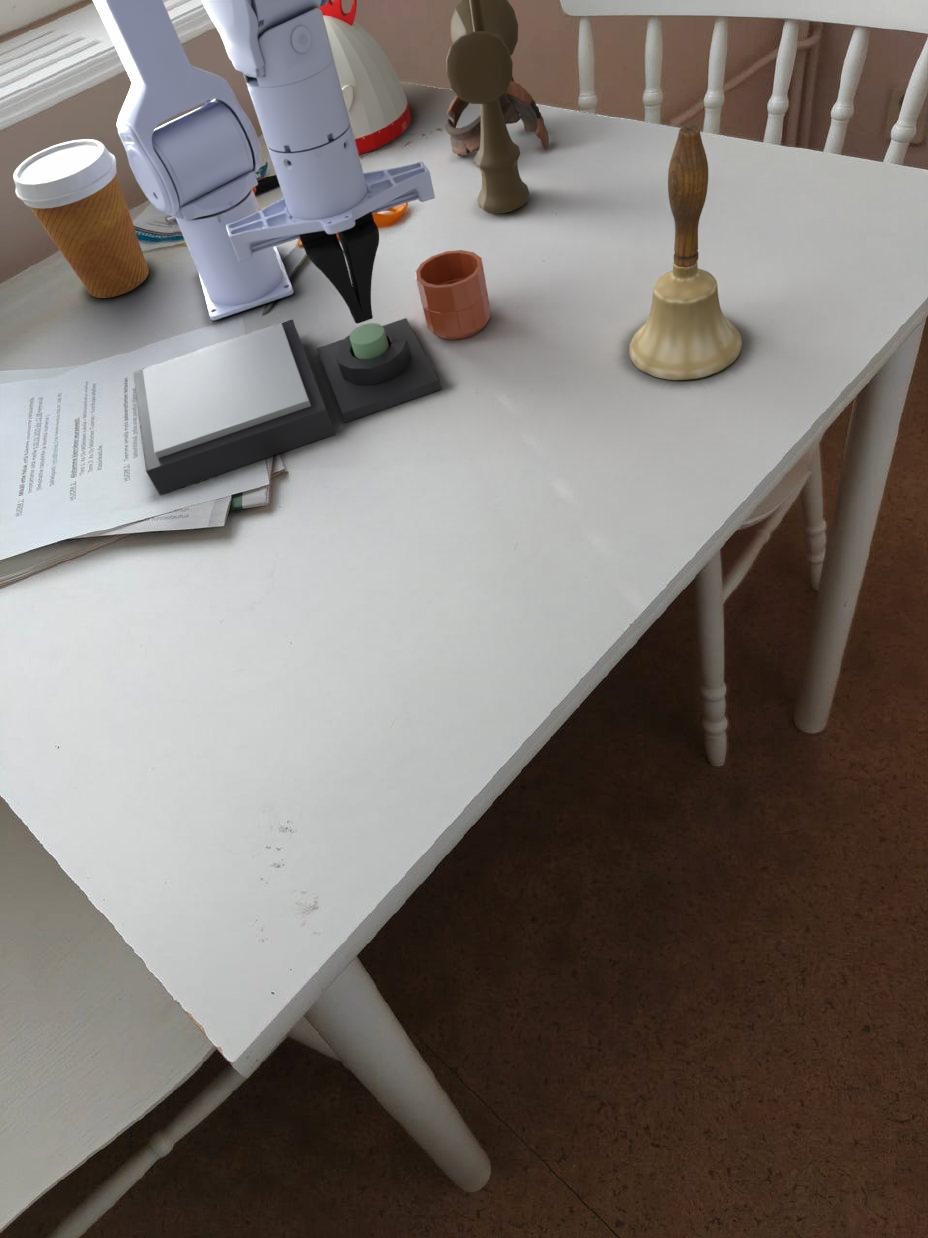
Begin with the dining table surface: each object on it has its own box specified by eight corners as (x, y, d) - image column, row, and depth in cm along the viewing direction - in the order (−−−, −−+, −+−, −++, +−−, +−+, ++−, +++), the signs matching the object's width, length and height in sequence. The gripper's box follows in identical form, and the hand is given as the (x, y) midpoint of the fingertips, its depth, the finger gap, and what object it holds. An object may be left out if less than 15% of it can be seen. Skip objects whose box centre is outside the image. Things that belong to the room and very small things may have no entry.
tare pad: (319, 356, 78) (310, 331, 76) (408, 326, 79) (402, 300, 77) (344, 423, 72) (336, 396, 70) (442, 389, 72) (436, 362, 70)
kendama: (536, 176, 92) (508, -64, 77) (534, 225, 86) (504, -25, 71) (476, 184, 93) (437, -51, 78) (471, 233, 87) (427, -11, 72)
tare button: (351, 346, 74) (345, 330, 73) (384, 335, 74) (379, 318, 73) (359, 364, 72) (353, 347, 71) (392, 353, 73) (388, 336, 71)
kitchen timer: (307, 112, 113) (265, -31, 101) (417, 96, 110) (387, -54, 99) (282, 166, 104) (234, 16, 93) (401, 149, 101) (366, -8, 90)
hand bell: (648, 311, 74) (642, 100, 62) (754, 321, 71) (770, 100, 59) (614, 374, 69) (601, 160, 57) (725, 388, 66) (735, 164, 54)
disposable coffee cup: (84, 319, 89) (17, 198, 80) (65, 280, 95) (0, 163, 86) (175, 280, 91) (119, 157, 82) (151, 245, 97) (96, 126, 88)
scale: (145, 395, 79) (129, 365, 77) (301, 342, 80) (290, 312, 78) (159, 495, 70) (142, 465, 68) (335, 434, 71) (324, 402, 69)
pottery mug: (557, 165, 94) (510, 105, 88) (482, 211, 99) (433, 157, 93) (554, 85, 99) (509, 23, 93) (482, 133, 104) (436, 78, 98)
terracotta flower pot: (420, 317, 79) (407, 263, 75) (480, 297, 80) (470, 242, 76) (438, 349, 76) (425, 294, 72) (501, 328, 76) (492, 272, 72)
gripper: (209, 190, 58) (280, 372, 68) (428, 119, 59) (466, 309, 69) (197, 149, 62) (265, 325, 73) (400, 84, 63) (439, 267, 74)
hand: (361, 315), depth 71 cm, fingers closed
